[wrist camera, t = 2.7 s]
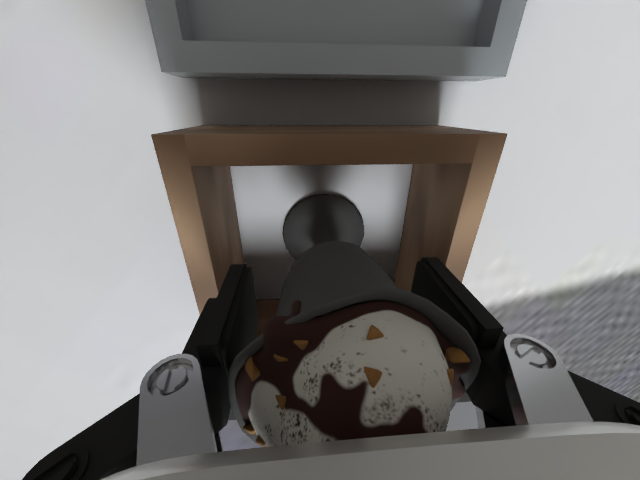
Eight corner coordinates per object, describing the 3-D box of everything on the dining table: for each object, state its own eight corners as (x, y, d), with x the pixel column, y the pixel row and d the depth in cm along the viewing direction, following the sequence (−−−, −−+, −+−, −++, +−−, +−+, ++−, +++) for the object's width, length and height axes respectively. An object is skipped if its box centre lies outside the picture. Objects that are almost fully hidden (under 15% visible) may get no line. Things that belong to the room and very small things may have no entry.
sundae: (343, 154, 14) (1508, 1367, 1) (394, 246, 17) (773, 800, 3) (244, 217, 15) (-179, 1072, 2) (307, 293, 18) (332, 839, 5)
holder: (202, 125, 13) (151, 134, 8) (438, 125, 14) (507, 133, 9) (237, 312, 18) (217, 378, 14) (403, 304, 19) (436, 364, 15)
